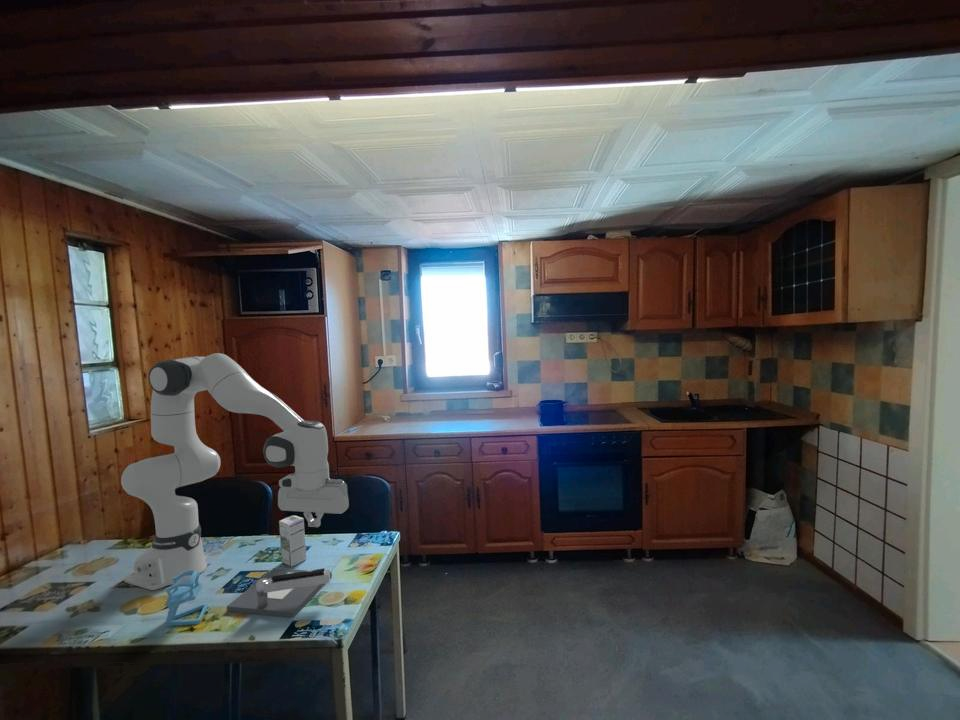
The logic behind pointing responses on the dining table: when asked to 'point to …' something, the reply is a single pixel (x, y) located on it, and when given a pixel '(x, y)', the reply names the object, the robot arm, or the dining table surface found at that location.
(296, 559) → the syrup box
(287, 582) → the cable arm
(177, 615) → the chair
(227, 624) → the dining table surface
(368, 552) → the dining table surface
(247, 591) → the grey base plate
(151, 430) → the robot arm
